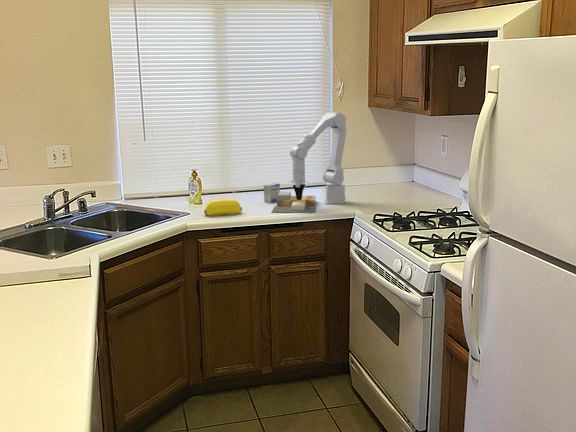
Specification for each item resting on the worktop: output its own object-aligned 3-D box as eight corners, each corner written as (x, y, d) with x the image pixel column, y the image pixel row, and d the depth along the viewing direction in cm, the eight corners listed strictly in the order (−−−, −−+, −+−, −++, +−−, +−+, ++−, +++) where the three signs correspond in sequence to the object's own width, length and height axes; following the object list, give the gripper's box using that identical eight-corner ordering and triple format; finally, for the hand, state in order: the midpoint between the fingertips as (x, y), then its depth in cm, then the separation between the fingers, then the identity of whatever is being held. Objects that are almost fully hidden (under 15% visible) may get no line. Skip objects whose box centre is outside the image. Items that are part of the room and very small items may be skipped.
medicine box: (270, 202, 322) (270, 185, 320) (263, 201, 325) (263, 184, 323) (280, 200, 328) (280, 183, 326) (273, 199, 331) (273, 182, 329)
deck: (315, 201, 323) (315, 195, 322) (314, 206, 311) (314, 200, 310) (279, 201, 324) (279, 195, 324) (276, 206, 313) (276, 200, 312)
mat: (316, 206, 310) (316, 206, 310) (314, 212, 297) (314, 212, 297) (274, 206, 312) (274, 206, 312) (271, 212, 299) (271, 212, 299)
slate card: (290, 196, 322) (290, 191, 322) (289, 199, 313) (289, 195, 313) (279, 196, 323) (279, 191, 322) (277, 199, 314) (277, 195, 313)
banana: (202, 214, 299) (205, 217, 292) (202, 200, 298) (204, 203, 291) (240, 211, 304) (244, 214, 297) (240, 197, 303) (243, 200, 296)
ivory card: (305, 206, 311) (305, 201, 310) (304, 209, 302) (304, 205, 302) (293, 206, 311) (293, 201, 311) (291, 209, 303) (291, 205, 302)
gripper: (291, 169, 313) (292, 196, 316) (288, 173, 299) (289, 202, 302) (306, 169, 313) (306, 196, 316) (304, 173, 299) (304, 202, 301)
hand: (299, 199), depth 309 cm, fingers closed
